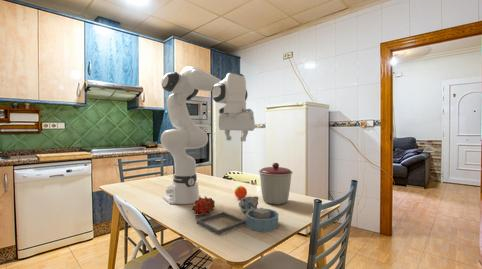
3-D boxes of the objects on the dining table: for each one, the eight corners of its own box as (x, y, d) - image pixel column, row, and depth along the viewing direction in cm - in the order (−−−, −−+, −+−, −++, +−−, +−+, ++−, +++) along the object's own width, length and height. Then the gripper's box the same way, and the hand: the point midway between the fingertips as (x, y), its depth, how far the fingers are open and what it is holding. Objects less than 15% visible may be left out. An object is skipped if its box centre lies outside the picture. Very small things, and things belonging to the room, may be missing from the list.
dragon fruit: (217, 215, 115) (193, 224, 108) (209, 201, 120) (186, 209, 113) (220, 204, 110) (196, 213, 103) (212, 190, 115) (188, 198, 108)
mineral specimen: (244, 222, 115) (258, 211, 121) (251, 215, 109) (265, 204, 116) (232, 205, 118) (246, 196, 124) (238, 198, 112) (252, 188, 119)
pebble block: (253, 222, 100) (253, 210, 100) (261, 219, 104) (261, 207, 103) (262, 226, 96) (262, 213, 96) (270, 222, 100) (270, 210, 100)
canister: (275, 195, 143) (275, 159, 142) (299, 203, 128) (300, 163, 128) (251, 200, 132) (251, 162, 131) (275, 209, 118) (275, 166, 117)
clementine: (239, 201, 130) (239, 188, 130) (230, 198, 135) (230, 186, 135) (249, 198, 136) (249, 185, 136) (240, 195, 141) (240, 183, 141)
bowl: (239, 224, 100) (239, 213, 100) (260, 216, 109) (260, 206, 109) (263, 234, 91) (263, 222, 91) (284, 224, 100) (284, 214, 100)
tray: (196, 223, 101) (196, 219, 100) (223, 214, 110) (223, 211, 110) (218, 235, 90) (218, 230, 90) (245, 224, 100) (245, 220, 100)
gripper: (258, 108, 102) (257, 141, 102) (226, 110, 116) (226, 139, 117) (247, 108, 97) (247, 142, 98) (216, 110, 112) (216, 140, 113)
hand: (235, 140), depth 107 cm, fingers open, 8 cm apart
